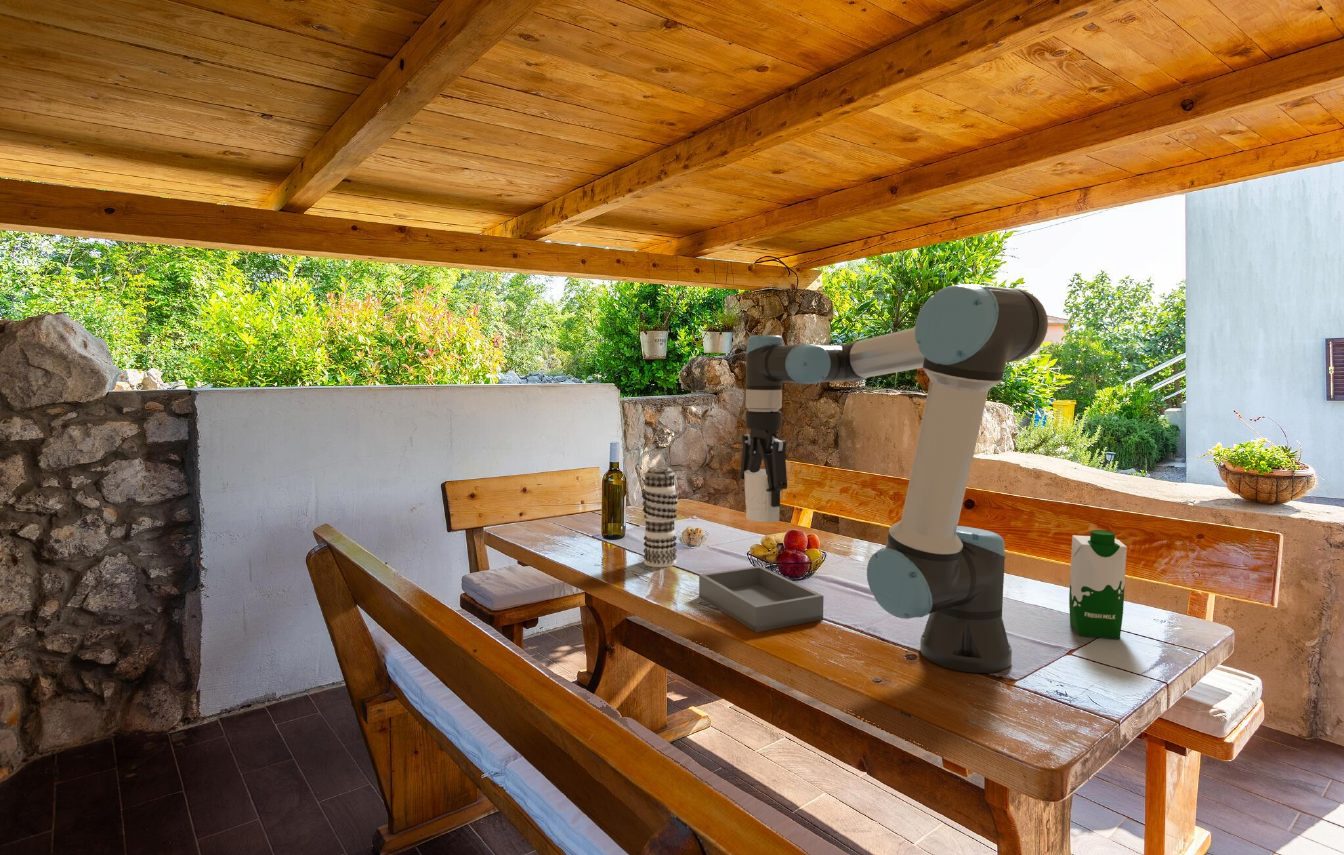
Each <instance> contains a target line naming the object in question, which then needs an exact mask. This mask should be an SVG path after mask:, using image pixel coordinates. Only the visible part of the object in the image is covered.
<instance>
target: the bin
mask: <svg viewBox="0 0 1344 855" xmlns="http://www.w3.org/2000/svg"><path fill="white" fill-rule="evenodd" d="M698 597H699V598H700V599H702V600H703V601H705V602H707V603H709V604H710V605H711V606H713V607H715V608H717V609H718V610H720V611H721V612H723V613H725V614H726V615H728V616H729V615H730V616H729V617H731V618H732V617H733V618H732V619H734V620H735V619H736V621H737V622H739V623H741V624H742V625H743V626H745V627H747V628H749V630H751V629H752V630H751V631H753V630H754V631H753V632H755V633H760V632H765V631H771V630H774V629H780V628H787V627H791V626H797V625H802V624H807V623H813V622H818V621H822V620H823V621H824V597H825V596H824V595H823V594H820V593H818V592H817V591H814V590H812V589H810V588H807V587H806V586H804V585H802V584H800V583H798V582H795V581H794V580H791V579H789V578H786V577H785V576H783V575H780V574H778V573H776V572H775V571H772V570H769V569H768V568H765V567H764V566H761V565H758V566H750V567H744V568H736V569H731V570H730V569H729V570H725V571H724V570H722V571H715V572H709V573H703V574H698Z"/></svg>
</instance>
